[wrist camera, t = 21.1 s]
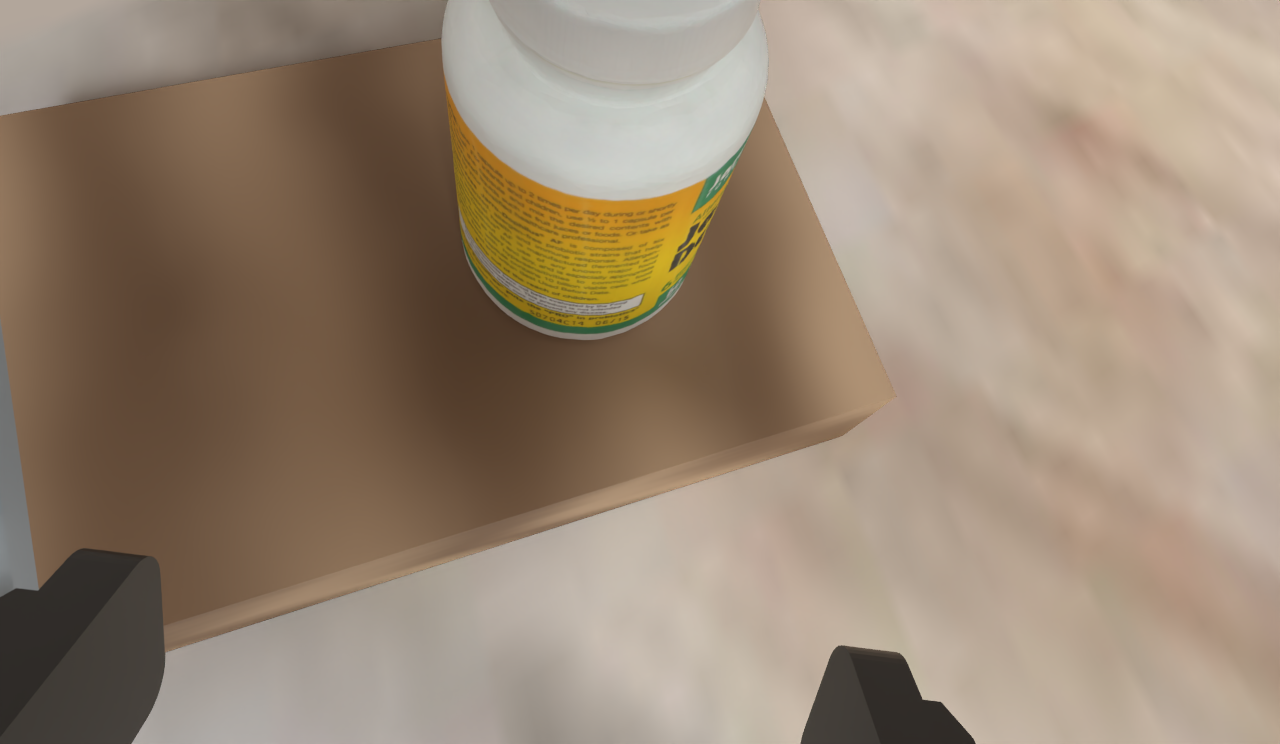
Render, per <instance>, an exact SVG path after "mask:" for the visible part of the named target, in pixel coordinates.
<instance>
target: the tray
mask: <svg viewBox="0 0 1280 744" xmlns="http://www.w3.org/2000/svg"><path fill="white" fill-rule="evenodd" d="M15 588H20V589H28V590H37V591H38V590H39V587H38V580H37V573H36V566H35V559H34V552H33V545H32V538H31V531H30V524H29V517H28V510H27V503H26V496H25V488H24V481H23V474H22V467H21V460H20V453H19V446H18V439H17V432H16V425H15V418H14V411H13V404H12V397H11V390H10V383H9V376H8V369H7V361H6V354H5V347H4V340H3V333H2V326H1V319H0V597H1V596H3V595H5V594H7V593H8V592H10V591H12V590H14V589H15Z"/></svg>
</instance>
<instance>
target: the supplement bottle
mask: <svg viewBox="0 0 1280 744" xmlns="http://www.w3.org/2000/svg"><path fill="white" fill-rule="evenodd" d="M759 3H760V0H448V2H447V6H446V9H445V14H444V19H443V26H442V40H441V43H442V62H443V72H444V81H445V90H446V99H447V107H448V116H449V125H450V134H451V142H452V151H453V162H454V173H455V181H456V191H457V201H458V210H459V221H460V231H461V237H462V243H463V247H464V252H465V255H466V259H467V261H468V264H469V266H470V268H471V270H472V272H473V274H474V276H475V278H476V279H477V281H478V282H479V284H480V285H481V287H482V288H483V290H484V291H485V293H486V294H487V295H488V296H489V297H490V299H491V300H492V301H493V302H494V303H495V304H496V305H497V306H498V307H499V308H500V309H501V310H502V311H504V312H505V313H506V314H507V315H509V316H510V317H512V318H513V319H514V320H516V321H517V322H519V323H521V324H523V325H525V326H526V327H528V328H530V329H533V330H535V331H538V332H540V333H543V334H546V335H549V336H554V337H558V338H564V339H574V340H597V339H603V338H606V337H610V336H613V335H617V334H620V333H624V332H626V331H628V330H630V329H632V328H635V327H636V326H638V325H640V324H642V323H644V322H646V321H647V320H649V319H650V318H652V317H653V316H654V315H655V314H657V313H658V312H659V311H660V310H662V309H663V308H664V307H665V306H666V305H667V304H668V302H669V301H670V300H671V299H672V298H673V297H674V296H675V294H676V293H677V292H678V290H679V288H680V287H681V285H682V283H683V281H684V279H685V277H686V275H687V273H688V270H689V268H690V266H691V264H692V261H693V259H694V257H695V254H696V252H697V250H698V248H699V246H700V244H701V241H702V239H703V237H704V235H705V232H706V230H707V228H708V226H709V224H710V222H711V219H712V217H713V215H714V213H715V211H716V208H717V206H718V203H719V201H720V198H721V196H722V194H723V192H724V190H725V188H726V186H727V184H728V182H729V180H730V177H731V175H732V173H733V171H734V168H735V166H736V164H737V162H738V160H739V158H740V155H741V153H742V151H743V149H744V147H745V144H746V142H747V140H748V138H749V135H750V133H751V131H752V129H753V127H754V125H755V122H756V120H757V117H758V115H759V112H760V109H761V106H762V102H763V99H764V95H765V91H766V86H767V80H768V64H769V58H768V44H767V38H766V33H765V29H764V25H763V22H762V19H761V16H760V13H759V10H758V8H759Z"/></svg>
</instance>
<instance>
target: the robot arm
mask: <svg viewBox="0 0 1280 744" xmlns="http://www.w3.org/2000/svg"><path fill="white" fill-rule="evenodd" d="M164 668H165V644H164V627H163V609H162V592H161V575H160V567H159V563H158V562H157V560H156V559H155V558H154V557H152V556H145V555H137V554H129V553H121V552H113V551H105V550H97V549H89V548H82V549H79V550H77V551H75V552H74V553H73V554H72V555H70V556H69V557H68V558H67V560H66V561H65V562H64V563H63V564H62V565H61V566H60V567H59V568H58V569H57V570H56V571H55V573H54V574H53V575H52V576H51V577H50V578H49V579H48V580H47V581H46V582H45V583H44V585H43V586H42V587H41V588H40V589H39V590H38V591H37V590H28V589H20V588H15V589H14V590H12V591H10V592H8V593H7V594H5V595H3V596H1V597H0V744H131V743H132V742H133V740H134V738H135V737H136V735H137V734H138V732H139V730H140V729H141V727H142V725H143V724H144V722H145V721H146V719H147V717H148V716H149V714H150V712H151V710H152V708H153V706H154V703H155V701H156V698H157V696H158V693H159V690H160V686H161V683H162V679H163V674H164ZM801 744H976V743H975V741H974V739H973V738H972V737H971V735H970V734H969V733H968V732H967V731H966V730H965V729H964V728H963V726H962V725H961V724H960V723H959V722H958V721H957V720H956V718H955V717H954V716H953V715H952V714H951V713H950V712H949V711H948V709H947V708H946V707H945V706H944V705H943V704H942V703H941V702H937V701H928V700H923V699H922V697H921V695H920V692H919V690H918V688H917V685H916V683H915V680H914V678H913V676H912V673H911V671H910V668H909V666H908V664H907V662H906V660H905V658H904V657H903V656H902V655H901V654H900V653H897V652H889V651H881V650H873V649H865V648H857V647H850V646H838V647H836V648H835V649H834V651H833V653H832V654H831V657H830V659H829V662H828V665H827V667H826V670H825V673H824V676H823V679H822V681H821V684H820V687H819V690H818V693H817V695H816V698H815V701H814V704H813V707H812V709H811V712H810V715H809V718H808V721H807V723H806V726H805V729H804V732H803V735H802V740H801Z"/></svg>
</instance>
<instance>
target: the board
mask: <svg viewBox="0 0 1280 744" xmlns="http://www.w3.org/2000/svg"><path fill="white" fill-rule="evenodd" d="M441 40H442V38H440V39H435V40H429V41H423V42H418V43H412V44H406V45H401V46H395V47H389V48H383V49H378V50H372V51H366V52H361V53H355V54H349V55H344V56H338V57H332V58H327V59H321V60H315V61H309V62H304V63H298V64H292V65H287V66H281V67H275V68H270V69H264V70H258V71H252V72H247V73H241V74H235V75H230V76H224V77H218V78H213V79H207V80H201V81H196V82H190V83H184V84H178V85H173V86H167V87H161V88H156V89H150V90H144V91H139V92H133V93H127V94H122V95H116V96H110V97H104V98H99V99H93V100H87V101H82V102H76V103H70V104H65V105H59V106H53V107H48V108H42V109H36V110H30V111H25V112H19V113H13V114H8V115H2V116H0V319H1V326H2V333H3V340H4V347H5V354H6V361H7V369H8V376H9V383H10V390H11V397H12V404H13V411H14V418H15V425H16V432H17V439H18V446H19V453H20V460H21V467H22V474H23V481H24V488H25V496H26V503H27V510H28V517H29V524H30V531H31V538H32V545H33V552H34V559H35V566H36V573H37V580H38V587H39V589H40V588H41V587H42V586H43V585H44V583H45V582H46V581H47V580H48V579H49V578H50V577H51V576H52V575H53V574H54V573H55V571H56V570H57V569H58V568H59V567H60V566H61V565H62V564H63V563H64V562H65V561H66V560H67V558H68V557H69V556H70V555H72V554H73V553H74V552H75V551H77V550H79V549H82V548H89V549H97V550H105V551H113V552H121V553H129V554H137V555H145V556H152V557H154V558H155V559H156V560H157V562H158V563H159V567H160V575H161V592H162V609H163V627H164V644H165V652H168V651H171V650H174V649H177V648H180V647H183V646H186V645H189V644H193V643H196V642H199V641H202V640H205V639H208V638H211V637H215V636H218V635H221V634H224V633H227V632H230V631H233V630H236V629H240V628H243V627H246V626H249V625H252V624H255V623H258V622H261V621H265V620H268V619H271V618H274V617H277V616H280V615H283V614H286V613H290V612H293V611H296V610H299V609H302V608H305V607H308V606H311V605H315V604H318V603H321V602H324V601H327V600H330V599H333V598H336V597H340V596H343V595H346V594H349V593H352V592H355V591H358V590H362V589H365V588H368V587H371V586H374V585H377V584H380V583H383V582H387V581H390V580H393V579H396V578H399V577H402V576H405V575H408V574H412V573H415V572H418V571H421V570H424V569H427V568H430V567H433V566H437V565H440V564H443V563H446V562H449V561H452V560H455V559H458V558H462V557H465V556H468V555H471V554H474V553H477V552H480V551H483V550H487V549H490V548H493V547H496V546H499V545H502V544H505V543H509V542H512V541H515V540H518V539H521V538H524V537H527V536H530V535H534V534H537V533H540V532H543V531H546V530H549V529H552V528H555V527H559V526H562V525H565V524H568V523H571V522H574V521H577V520H580V519H584V518H587V517H590V516H593V515H596V514H599V513H602V512H605V511H609V510H612V509H615V508H618V507H621V506H624V505H627V504H631V503H634V502H637V501H640V500H643V499H646V498H649V497H652V496H656V495H659V494H662V493H665V492H668V491H671V490H674V489H677V488H681V487H684V486H687V485H690V484H693V483H696V482H699V481H702V480H706V479H709V478H712V477H715V476H718V475H721V474H724V473H727V472H731V471H734V470H737V469H740V468H743V467H746V466H749V465H752V464H756V463H759V462H762V461H765V460H768V459H771V458H774V457H778V456H781V455H784V454H787V453H790V452H793V451H796V450H799V449H803V448H806V447H809V446H812V445H815V444H818V443H821V442H824V441H828V440H831V439H834V438H837V437H840V436H843V435H844V434H846V433H847V432H848V431H850V430H851V429H852V428H854V427H855V426H857V425H858V424H859V423H861V422H862V421H863V420H865V419H866V418H868V417H869V416H870V415H872V414H873V413H874V412H876V411H877V410H879V409H880V408H881V407H883V406H884V405H885V404H887V403H888V402H890V401H891V400H892V399H894V398H895V397H896V394H895V392H894V390H893V387H892V385H891V383H890V381H889V378H888V376H887V374H886V372H885V369H884V367H883V365H882V362H881V360H880V358H879V356H878V353H877V351H876V349H875V347H874V344H873V342H872V340H871V338H870V335H869V333H868V331H867V329H866V326H865V324H864V322H863V319H862V317H861V315H860V313H859V310H858V308H857V306H856V304H855V301H854V299H853V297H852V295H851V292H850V290H849V288H848V286H847V283H846V281H845V279H844V276H843V274H842V272H841V270H840V267H839V265H838V263H837V261H836V258H835V256H834V254H833V252H832V249H831V247H830V245H829V243H828V240H827V238H826V236H825V233H824V231H823V229H822V227H821V224H820V222H819V220H818V218H817V215H816V213H815V211H814V209H813V206H812V204H811V202H810V200H809V197H808V195H807V193H806V190H805V188H804V186H803V184H802V181H801V179H800V177H799V175H798V172H797V170H796V168H795V166H794V163H793V161H792V159H791V157H790V154H789V152H788V150H787V147H786V145H785V143H784V141H783V138H782V136H781V134H780V132H779V129H778V127H777V125H776V123H775V120H774V118H773V116H772V114H771V111H770V109H769V107H768V104H767V102H766V100H765V98H764V99H763V102H762V106H761V109H760V112H759V115H758V117H757V120H756V122H755V125H754V127H753V129H752V131H751V133H750V135H749V138H748V140H747V142H746V144H745V147H744V149H743V151H742V153H741V155H740V158H739V160H738V162H737V164H736V166H735V168H734V171H733V173H732V175H731V177H730V180H729V182H728V184H727V186H726V188H725V190H724V192H723V194H722V196H721V198H720V201H719V203H718V206H717V208H716V211H715V213H714V215H713V217H712V219H711V222H710V224H709V226H708V228H707V230H706V232H705V235H704V237H703V239H702V241H701V244H700V246H699V248H698V250H697V252H696V254H695V257H694V259H693V261H692V264H691V266H690V268H689V270H688V273H687V275H686V277H685V279H684V281H683V283H682V285H681V287H680V288H679V290H678V292H677V293H676V294H675V296H674V297H673V298H672V299H671V300H670V301H669V302H668V304H667V305H666V306H665V307H664V308H663V309H662V310H660V311H659V312H658V313H657V314H655V315H654V316H653V317H652V318H650V319H649V320H647V321H646V322H644V323H642V324H640V325H638V326H636V327H635V328H632V329H630V330H628V331H626V332H624V333H620V334H617V335H613V336H610V337H606V338H603V339H597V340H574V339H564V338H558V337H554V336H549V335H546V334H543V333H540V332H538V331H535V330H533V329H530V328H528V327H526V326H525V325H523V324H521V323H519V322H517V321H516V320H514V319H513V318H512V317H510V316H509V315H507V314H506V313H505V312H504V311H502V310H501V309H500V308H499V307H498V306H497V305H496V304H495V303H494V302H493V301H492V300H491V299H490V297H489V296H488V295H487V294H486V293H485V291H484V290H483V288H482V287H481V285H480V284H479V282H478V281H477V279H476V278H475V276H474V274H473V272H472V270H471V268H470V266H469V264H468V261H467V259H466V255H465V252H464V247H463V243H462V237H461V231H460V221H459V210H458V201H457V191H456V181H455V173H454V162H453V151H452V142H451V134H450V125H449V116H448V107H447V99H446V90H445V81H444V72H443V62H442V43H441Z"/></svg>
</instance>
